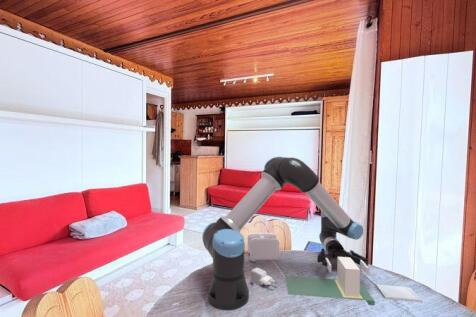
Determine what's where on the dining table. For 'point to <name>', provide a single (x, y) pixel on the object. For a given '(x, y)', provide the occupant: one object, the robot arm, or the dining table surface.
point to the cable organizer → (263, 246)
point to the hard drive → (398, 293)
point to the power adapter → (261, 277)
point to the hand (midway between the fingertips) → (348, 269)
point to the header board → (322, 288)
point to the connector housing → (348, 276)
